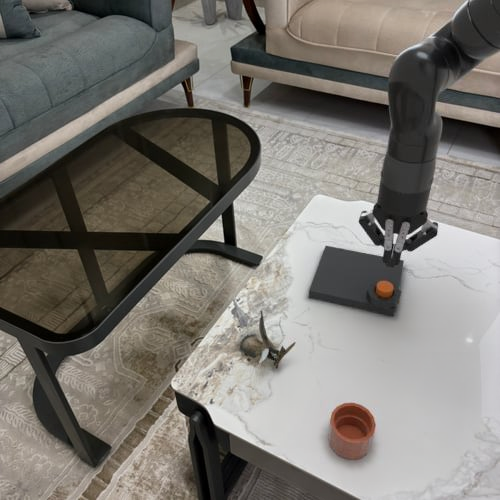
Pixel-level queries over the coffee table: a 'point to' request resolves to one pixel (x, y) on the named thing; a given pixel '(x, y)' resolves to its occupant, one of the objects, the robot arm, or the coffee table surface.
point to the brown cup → (351, 430)
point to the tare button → (384, 289)
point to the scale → (355, 280)
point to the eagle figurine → (263, 346)
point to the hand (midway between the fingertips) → (390, 263)
